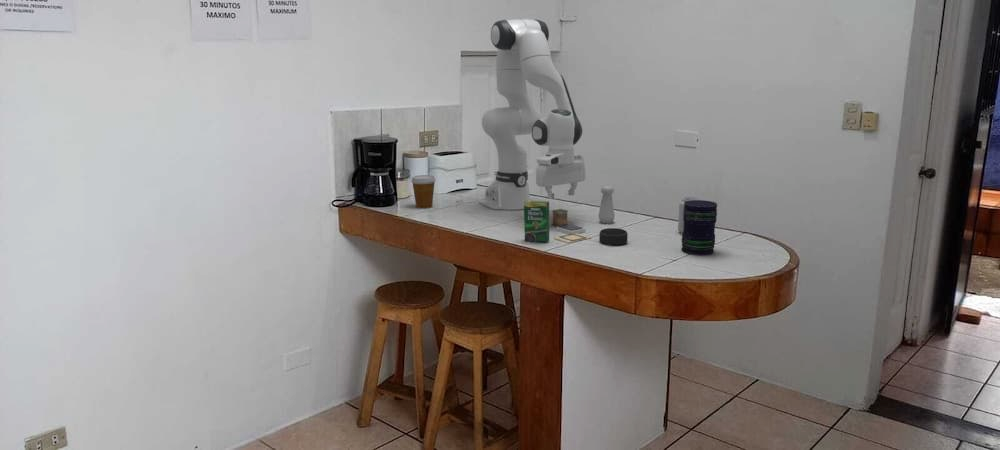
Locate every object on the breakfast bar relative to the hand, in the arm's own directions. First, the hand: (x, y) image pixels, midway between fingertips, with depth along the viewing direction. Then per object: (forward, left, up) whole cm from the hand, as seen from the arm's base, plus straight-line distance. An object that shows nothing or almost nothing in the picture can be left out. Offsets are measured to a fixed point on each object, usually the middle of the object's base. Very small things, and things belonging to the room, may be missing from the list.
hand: (561, 196), depth 248 cm
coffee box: (+11, -20, -11) cm, 25 cm away
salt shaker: (+6, +16, -11) cm, 20 cm away
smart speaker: (+27, -2, -11) cm, 29 cm away
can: (+34, +27, -11) cm, 45 cm away
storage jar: (+50, +11, -11) cm, 53 cm away
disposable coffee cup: (-57, -22, -11) cm, 62 cm away
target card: (+16, -9, -10) cm, 21 cm away
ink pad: (+8, -3, -10) cm, 14 cm away
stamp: (-1, 0, -10) cm, 10 cm away
